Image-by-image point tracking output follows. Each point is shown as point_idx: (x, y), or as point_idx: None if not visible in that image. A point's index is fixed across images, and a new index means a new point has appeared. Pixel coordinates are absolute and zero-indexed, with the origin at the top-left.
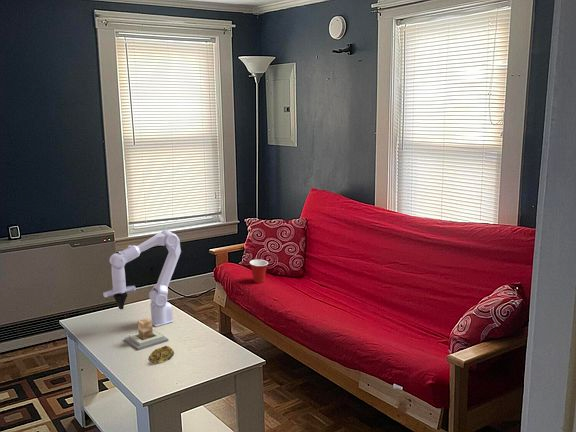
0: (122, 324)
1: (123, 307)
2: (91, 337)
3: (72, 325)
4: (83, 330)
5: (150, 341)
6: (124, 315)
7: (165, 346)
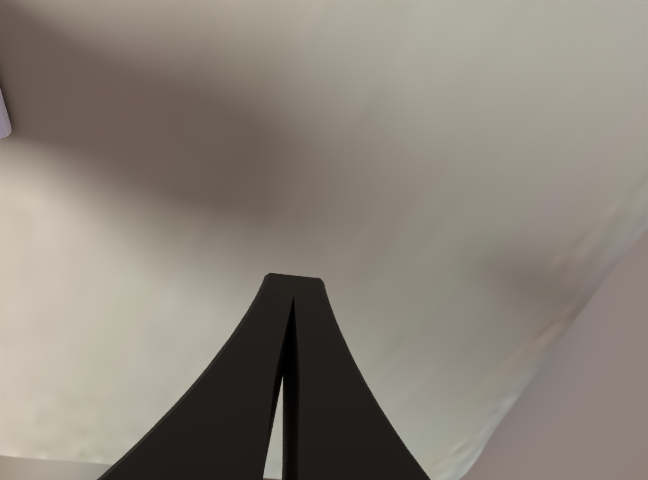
0: (240, 261)
1: (261, 287)
2: (568, 218)
3: (467, 435)
4: (490, 352)
5: None
6: (153, 373)
7: None
